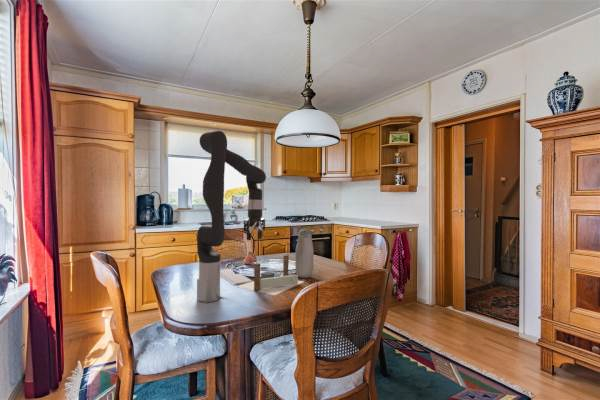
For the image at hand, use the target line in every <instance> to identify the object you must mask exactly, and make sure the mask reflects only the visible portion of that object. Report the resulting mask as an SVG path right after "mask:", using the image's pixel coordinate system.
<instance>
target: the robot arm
mask: <svg viewBox="0 0 600 400" xmlns="http://www.w3.org/2000/svg"><path fill="white" fill-rule="evenodd" d="M199 146H200V148H202V149H203V150H204V151H205V152H206V153H208V154H210V163H209V166H208V169H207V170H206V173H205V174H204V176H203V181H202V197H203V200H204V202H205V204H206V206H207V209H208V211H209V212H210V216H211V224H204V225H200V226H199V228H198V230H197V233H196V246H197V247H196V251H197V256H198V278H197V280H196V301H199V302H202V303H213V302H217V301H218V300H220V299H221V276H220V270H221V254H220V253H219V252H218V251H216V250H215V249H214V248H213V247H221V246H222V245H223V243H224V241H225V235H226V234H225V233H226V231H225V218H224V217H225V216H224V202H225V201H224V200H225V197H224V196H225V170H226V168H225V167H226V164H227V165H229V166H230V167H232V168H233V169H234V170H235V171H237V172H238V173H239V174H241V175H242V176H245V181H246V185H247V186H246V187H247V189H248V202H247V217H248V219H244V221H243V232H244V233H246V240H247V241H251V240H252V231H253V230H254V229H257V238H258V239H262V238H263V232H264V231H265V230H266V219H265V218H263V190H262V189H261V188H259V187H258V185H260V184H263V183H265V182H266V180H267V176H266V173H265V171H264V170H262V169H261V168H259V167H258V166H256V165H255V164H254V165H253V164H252V163H251V162H249V161H248V160H247V159H246V158H244V157H243V156H242V155H240V154H238V153H236V152H233V151H232V150H229V149H228V138H227V136H226V134H225V133H224V132H223V130H212V131H208V132H203V133H202V134H201V135H200V137H199Z"/></svg>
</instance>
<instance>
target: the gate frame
mask: <svg viewBox="0 0 600 400" xmlns="http://www.w3.org/2000/svg"><path fill="white" fill-rule="evenodd" d="M289 259H290V257H289V255H287V254H284V255H283V261H282V263H283V265H282V266H283V267H282V268H283V271H282V275H283V276H289V261H290V260H289ZM253 265H254V266H253V274H254V275H253V276H254V277H253V281H254V291H253V292H256V293H257V292H258V291H260V279H261V263H258V262H257V263H256V264H253ZM258 293H259V292H258Z"/></svg>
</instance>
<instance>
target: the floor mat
mask: <svg viewBox="0 0 600 400" xmlns="http://www.w3.org/2000/svg"><path fill="white" fill-rule="evenodd" d="M304 282H305V281H304V280H303V281H302V280H298V284H294V285H286V286H279V287H272V288H264V289H260V291H258V293H263V294H267V295H271V296H277V295H279V294H280V293H283V292H285V291H287V290H290V289H291V288H293V287H296V286H298V285H300V284H303V283H304ZM237 288H240V289H243V290H249V291H253V292H255V291H254V280H252V281H250V282H247V283H245V284H240V285H237Z"/></svg>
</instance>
